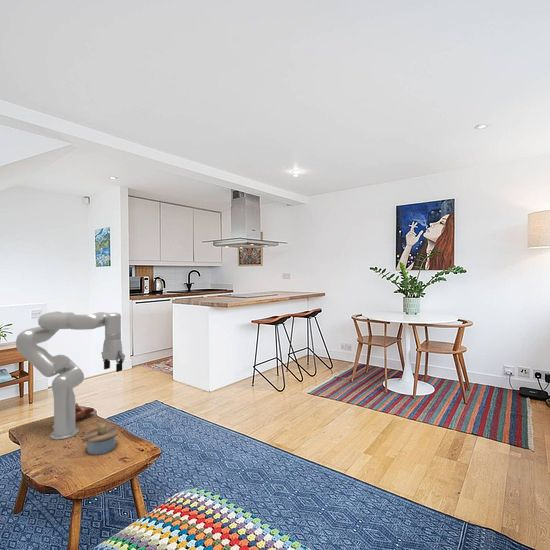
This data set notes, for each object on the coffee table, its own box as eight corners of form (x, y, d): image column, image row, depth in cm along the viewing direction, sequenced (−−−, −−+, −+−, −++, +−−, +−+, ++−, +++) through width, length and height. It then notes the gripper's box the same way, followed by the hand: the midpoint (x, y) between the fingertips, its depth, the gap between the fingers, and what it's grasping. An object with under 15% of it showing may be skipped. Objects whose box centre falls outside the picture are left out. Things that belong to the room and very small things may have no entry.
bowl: (82, 450, 163) (82, 437, 163) (105, 440, 173) (105, 428, 173) (98, 456, 158) (98, 443, 158) (120, 445, 168) (120, 433, 168)
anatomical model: (97, 406, 202) (78, 389, 201) (78, 425, 192) (57, 407, 191) (93, 412, 209) (74, 395, 208) (74, 430, 199) (54, 412, 198)
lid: (78, 438, 162) (78, 426, 162) (104, 426, 175) (104, 415, 175) (98, 445, 156) (98, 433, 156) (124, 432, 169) (124, 421, 169)
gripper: (95, 336, 181) (95, 369, 181) (117, 339, 172) (117, 374, 172) (108, 334, 187) (108, 366, 187) (130, 337, 179) (130, 370, 179)
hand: (113, 370), depth 180 cm, fingers open, 9 cm apart
